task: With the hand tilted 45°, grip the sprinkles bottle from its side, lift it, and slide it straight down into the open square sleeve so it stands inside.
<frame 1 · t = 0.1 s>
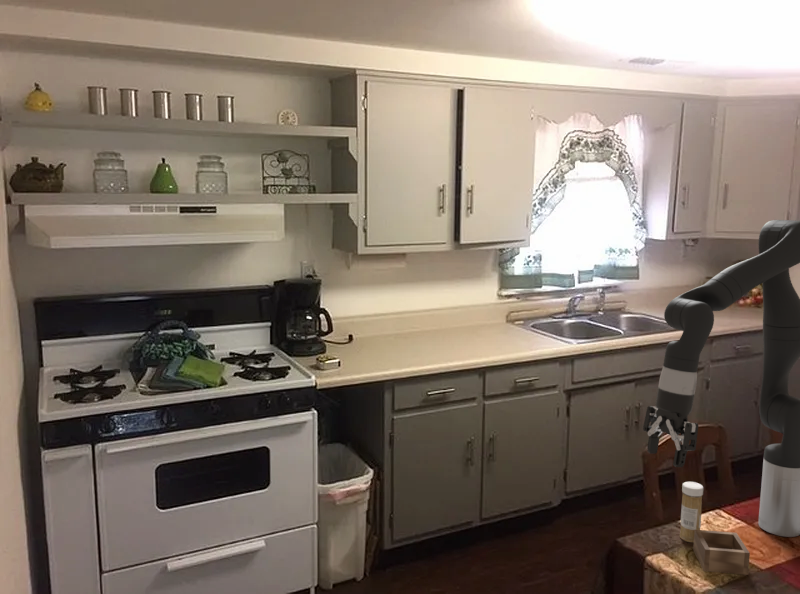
hand: (664, 459, 151), 22 cm above the table, tool pointing down, fingers open, 8 cm apart
sprinkles bottle: (689, 539, 161), on the table
open square sleeve: (719, 561, 151), on the table
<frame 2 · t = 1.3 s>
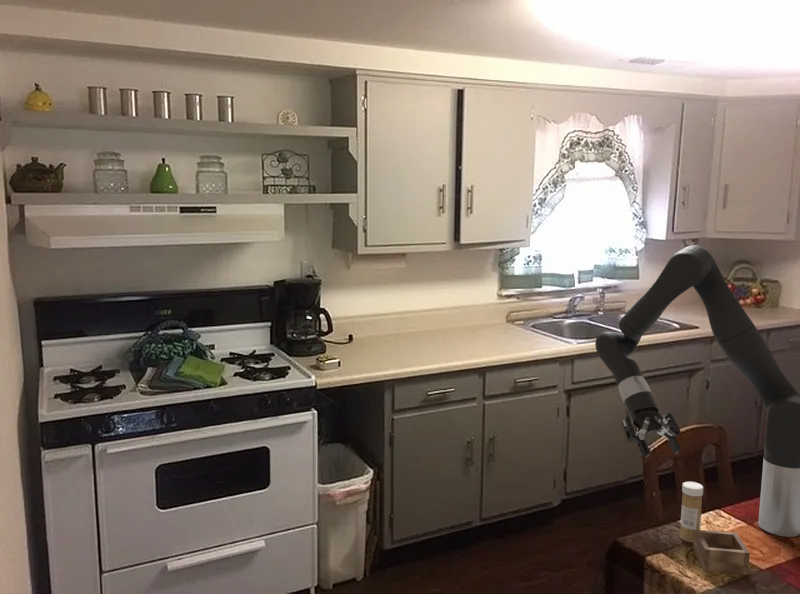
hand: (662, 454, 169), 17 cm above the table, tool tilted 45°, fingers open, 8 cm apart
nothing on the table moved.
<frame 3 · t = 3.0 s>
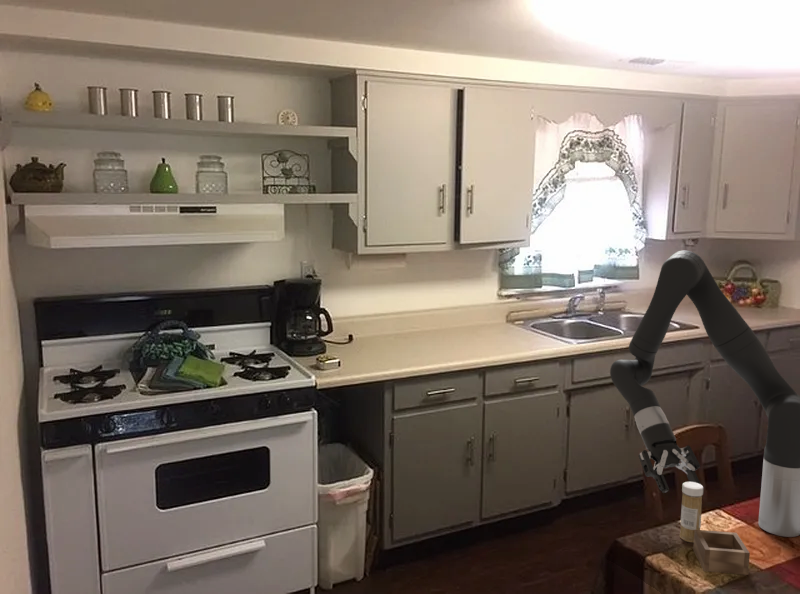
hand: (681, 489, 163), 11 cm above the table, tool tilted 45°, fingers open, 8 cm apart
nothing on the table moved.
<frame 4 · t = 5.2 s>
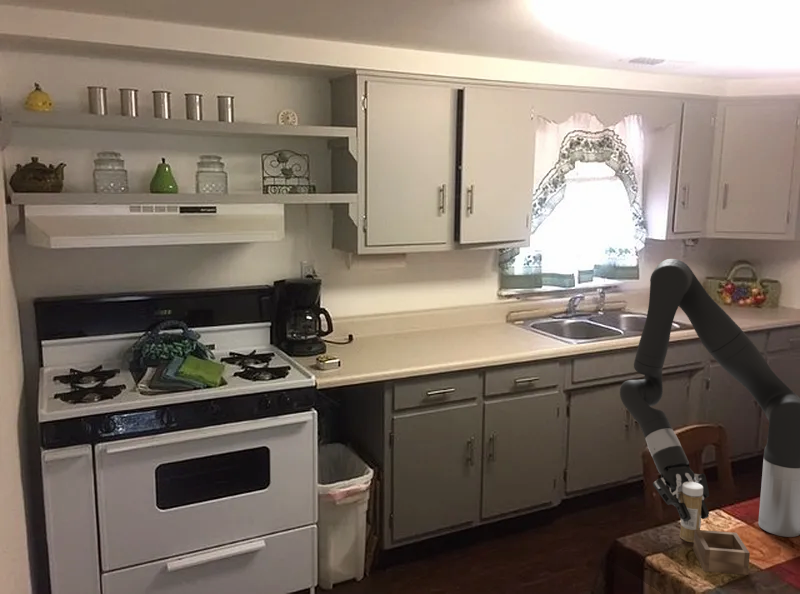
hand: (696, 518, 158), 6 cm above the table, tool tilted 45°, fingers closed on sprinkles bottle, 4 cm apart
sprinkles bottle: (689, 539, 161), on the table, touching gripper
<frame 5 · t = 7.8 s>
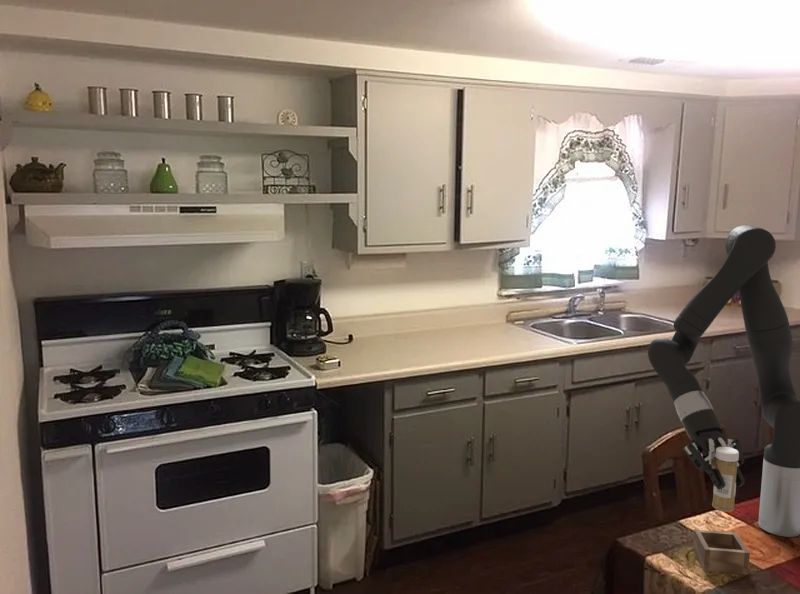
hand: (731, 486, 146), 19 cm above the table, tool tilted 45°, fingers closed on sprinkles bottle, 4 cm apart
sprinkles bottle: (722, 508, 149), point 12 cm above the table, touching gripper
when the fingers open (7 cm above the table, at t = 10.6 s): sprinkles bottle drops 2 cm, resting in open square sleeve.
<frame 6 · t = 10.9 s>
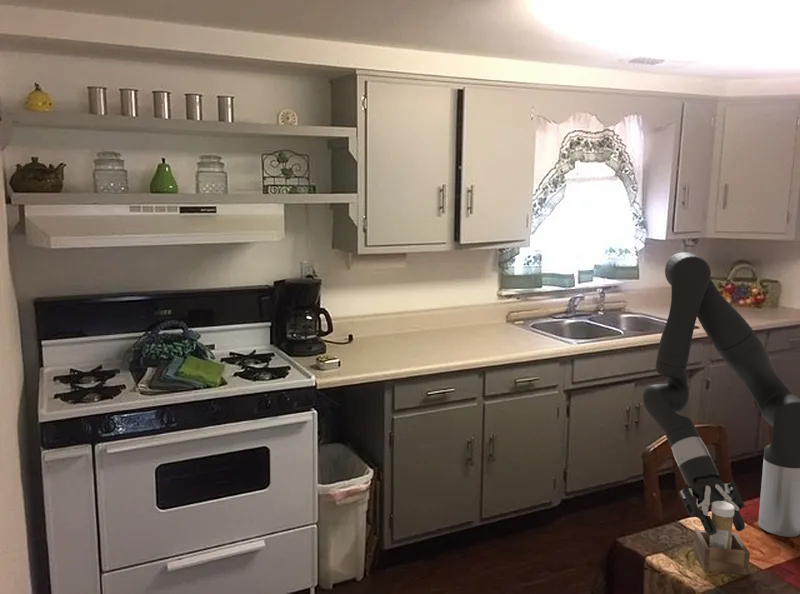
hand: (727, 531, 148), 8 cm above the table, tool tilted 45°, fingers open, 6 cm apart
sprinkles bottle: (718, 562, 151), resting in open square sleeve
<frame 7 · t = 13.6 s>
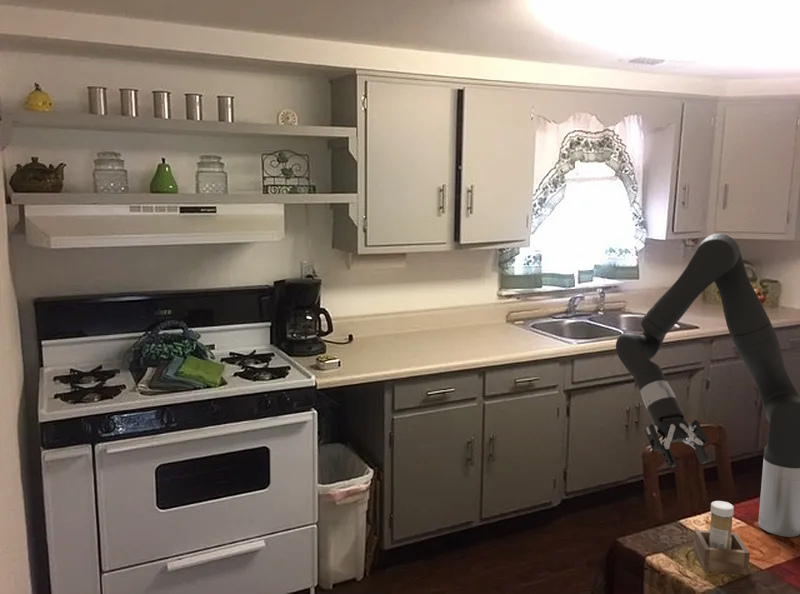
hand: (689, 464, 159), 18 cm above the table, tool tilted 45°, fingers open, 8 cm apart
nothing on the table moved.
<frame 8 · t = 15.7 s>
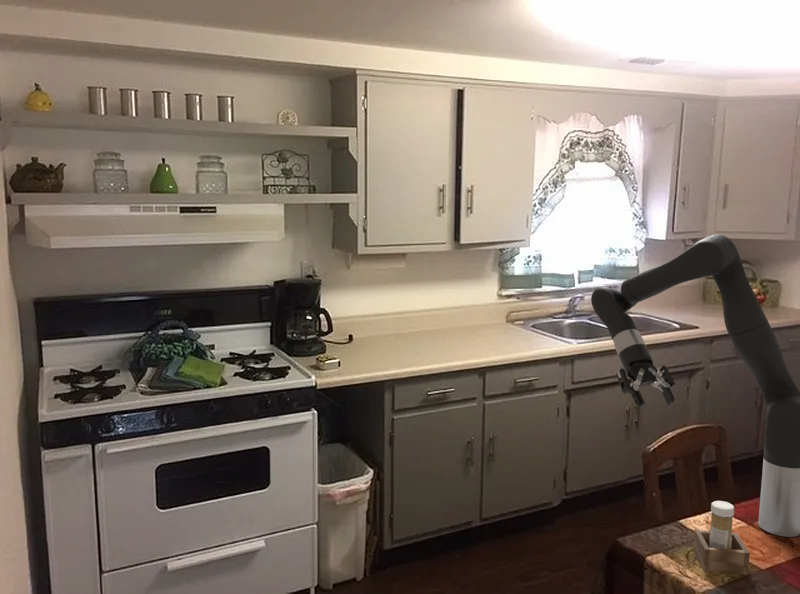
hand: (656, 404, 170), 29 cm above the table, tool tilted 45°, fingers open, 8 cm apart
nothing on the table moved.
at the end: sprinkles bottle 0.2 cm off-centre on the open square sleeve, point 0.0 cm above the open square sleeve's base; sprinkles bottle tilted 0°; the gripper is holding nothing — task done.
